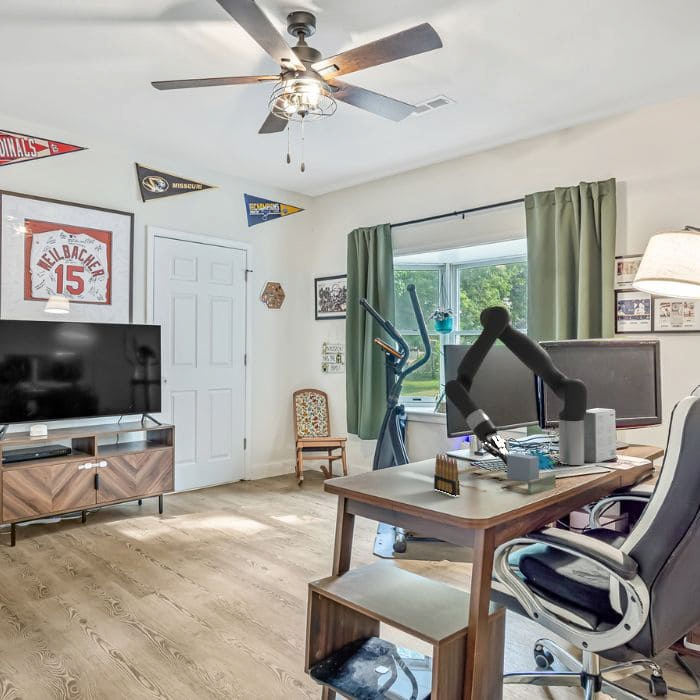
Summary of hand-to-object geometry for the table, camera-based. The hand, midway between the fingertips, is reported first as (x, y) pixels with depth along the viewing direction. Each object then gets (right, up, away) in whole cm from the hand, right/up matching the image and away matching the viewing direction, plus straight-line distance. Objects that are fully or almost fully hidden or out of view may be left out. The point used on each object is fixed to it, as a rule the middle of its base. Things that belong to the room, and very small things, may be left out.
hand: (510, 464), depth 192 cm
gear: (+16, -6, +14) cm, 21 cm away
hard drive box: (+45, -5, +34) cm, 57 cm away
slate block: (+3, -4, -4) cm, 7 cm away
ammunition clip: (-25, -6, -15) cm, 30 cm away
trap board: (-3, -6, 0) cm, 6 cm away
